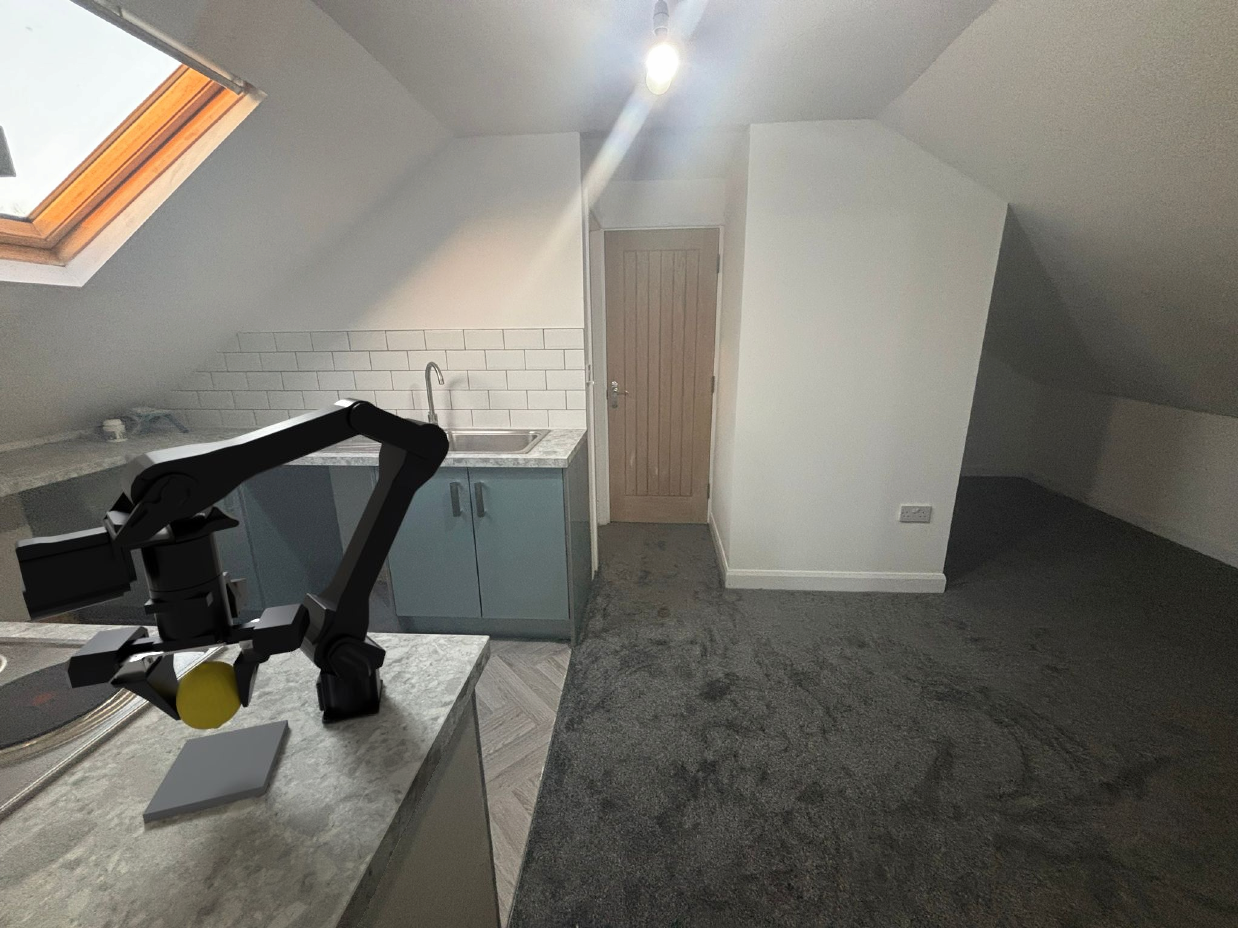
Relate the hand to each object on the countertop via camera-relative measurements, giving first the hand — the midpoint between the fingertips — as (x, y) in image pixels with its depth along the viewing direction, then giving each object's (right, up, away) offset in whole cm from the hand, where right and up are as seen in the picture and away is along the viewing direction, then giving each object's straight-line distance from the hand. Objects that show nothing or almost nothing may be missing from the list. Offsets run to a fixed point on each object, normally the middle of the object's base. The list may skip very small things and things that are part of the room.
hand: (214, 710), depth 54 cm
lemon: (0, -2, +1) cm, 2 cm away
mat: (0, -7, +2) cm, 8 cm away
